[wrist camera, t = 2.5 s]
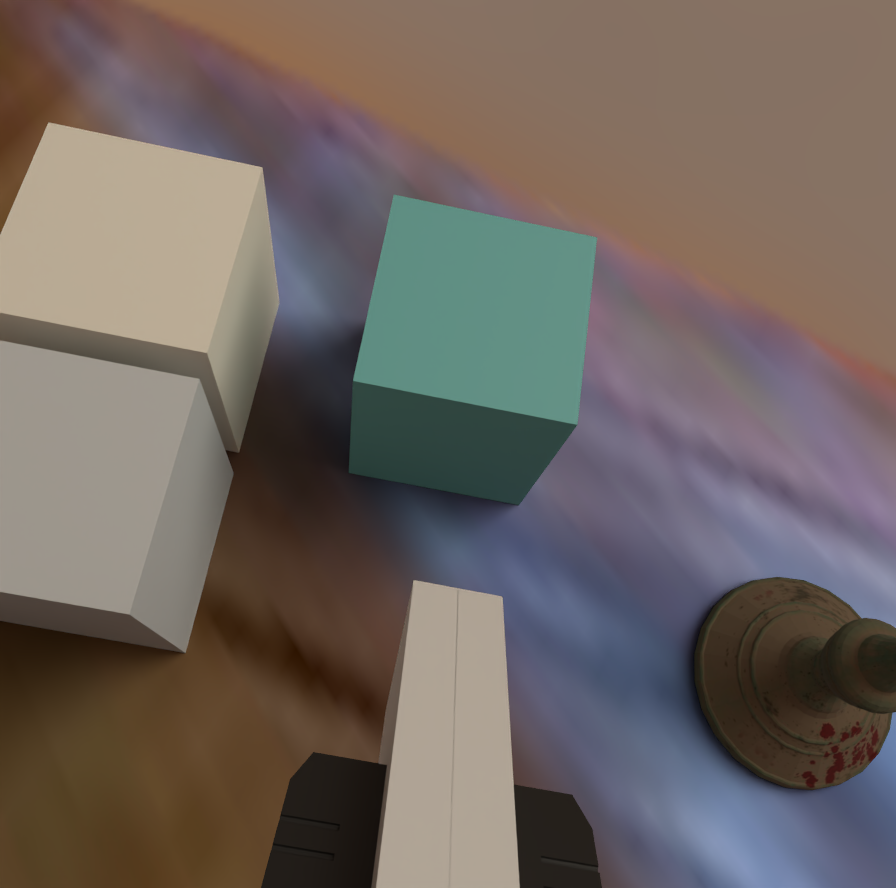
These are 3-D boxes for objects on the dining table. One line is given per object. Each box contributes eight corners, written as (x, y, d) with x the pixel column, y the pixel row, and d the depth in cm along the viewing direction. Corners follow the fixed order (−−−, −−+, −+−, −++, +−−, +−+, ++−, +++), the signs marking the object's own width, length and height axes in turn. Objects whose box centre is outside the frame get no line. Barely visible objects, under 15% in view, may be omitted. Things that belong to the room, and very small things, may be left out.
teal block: (518, 505, 38) (577, 424, 29) (348, 473, 38) (352, 380, 29) (538, 354, 41) (597, 237, 32) (380, 322, 41) (394, 194, 31)
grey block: (185, 653, 34) (129, 614, 25) (-11, 619, 34) (-143, 566, 24) (233, 473, 37) (199, 378, 28) (54, 439, 37) (-42, 332, 27)
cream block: (239, 453, 37) (207, 353, 28) (61, 419, 37) (-31, 306, 28) (279, 302, 40) (262, 167, 31) (115, 269, 40) (48, 122, 31)
